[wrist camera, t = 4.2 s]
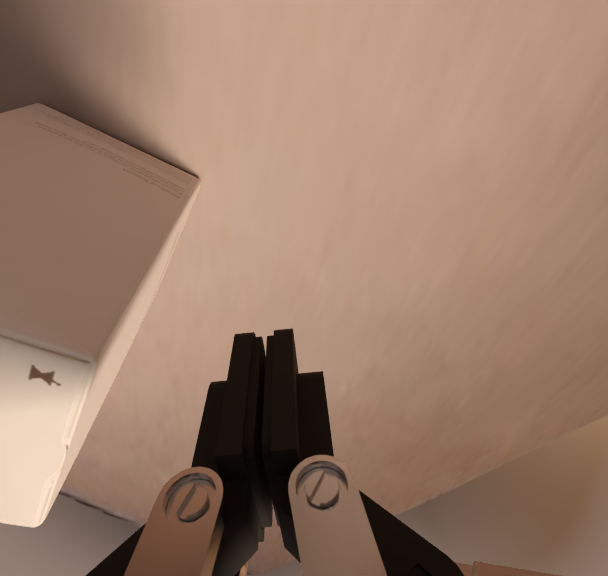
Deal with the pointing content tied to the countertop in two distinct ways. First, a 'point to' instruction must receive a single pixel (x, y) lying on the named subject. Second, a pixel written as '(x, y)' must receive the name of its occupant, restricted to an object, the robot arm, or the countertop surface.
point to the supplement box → (71, 286)
